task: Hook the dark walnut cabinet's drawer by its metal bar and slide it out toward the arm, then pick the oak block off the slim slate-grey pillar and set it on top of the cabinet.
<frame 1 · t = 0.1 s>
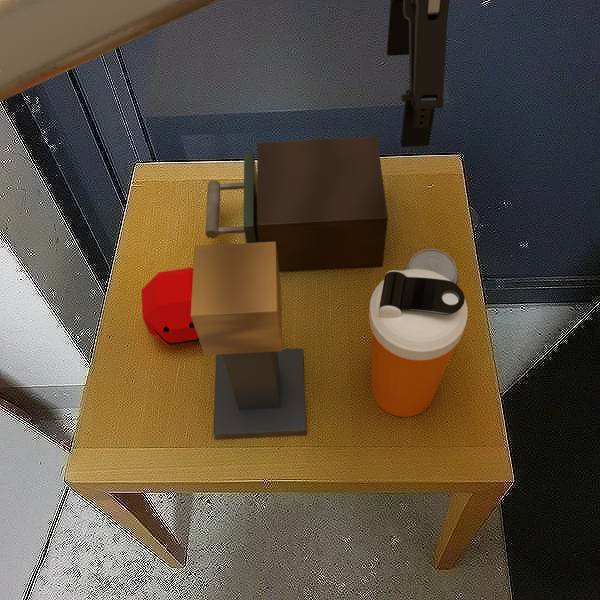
hand: (406, 96, 72), 21 cm above the table, tool pointing down, fingers open, 13 cm apart
ball: (186, 323, 83), on the table
beverage can: (420, 325, 82), on the table
oak block: (243, 319, 63), point 17 cm above the table, touching stand
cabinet: (321, 229, 90), on the table
shaker bottle: (402, 388, 78), on the table
stand: (260, 395, 78), on the table
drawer: (281, 207, 86), point 5 cm above the table, slide at 0.5 cm
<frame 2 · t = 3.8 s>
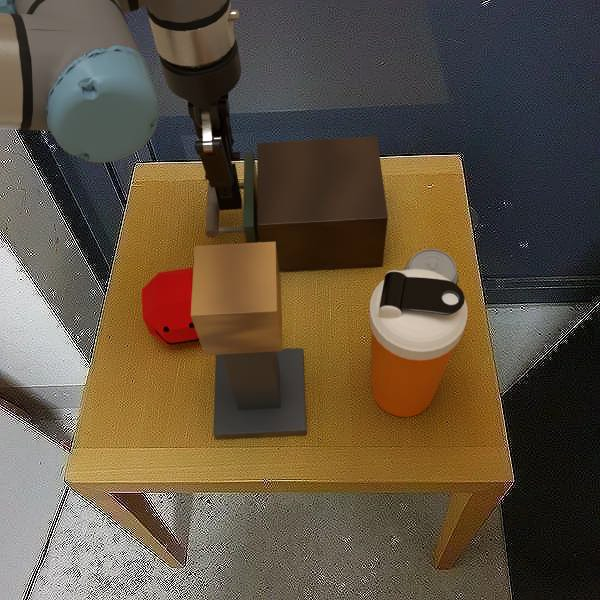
hand: (231, 205, 85), 6 cm above the table, tool pointing down, fingers closed
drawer: (281, 207, 86), point 5 cm above the table, slide at 0.5 cm, touching gripper
everything else where it was.
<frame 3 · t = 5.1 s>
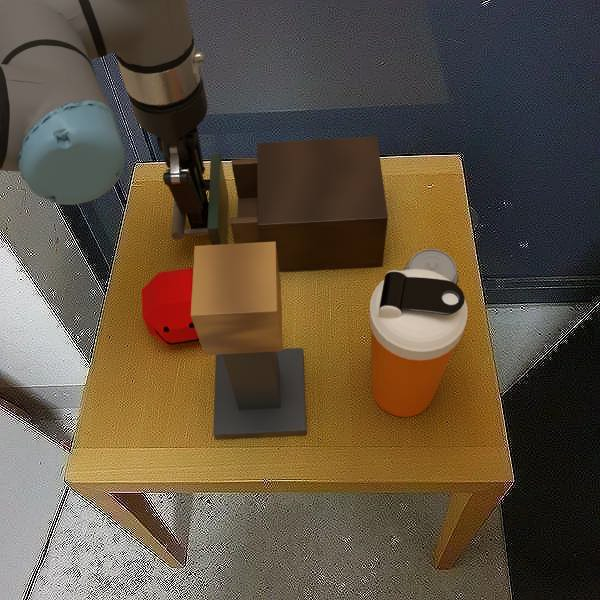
hand: (203, 228, 89), 2 cm above the table, tool pointing down, fingers closed
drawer: (248, 209, 86), point 5 cm above the table, slide at 4.7 cm, touching gripper
everything else where it was.
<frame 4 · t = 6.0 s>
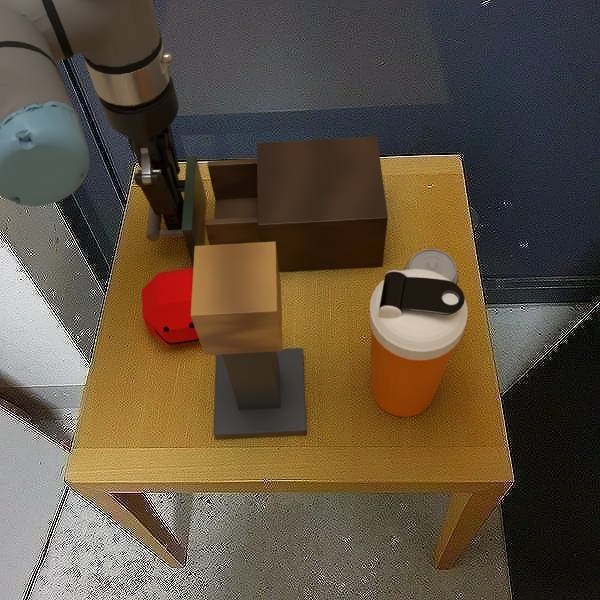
hand: (179, 229, 89), 2 cm above the table, tool pointing down, fingers closed
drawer: (224, 210, 86), point 5 cm above the table, slide at 7.7 cm, touching gripper
everything else where it was.
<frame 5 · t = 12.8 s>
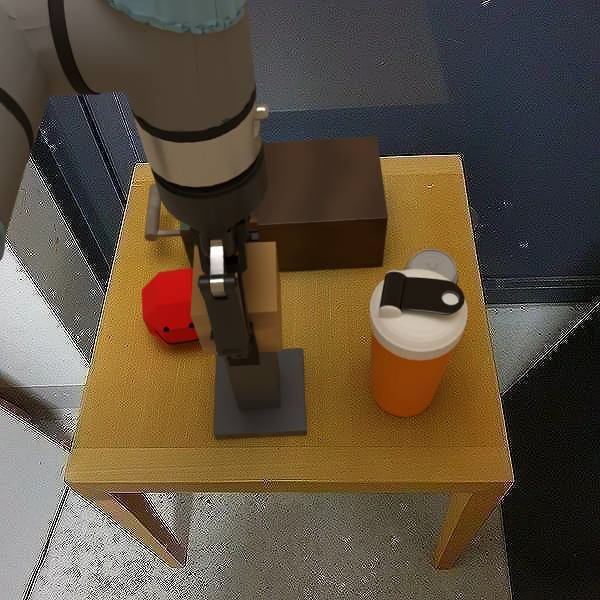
hand: (244, 324, 64), 16 cm above the table, tool pointing down, fingers closed on oak block, 7 cm apart
oak block: (243, 319, 63), point 17 cm above the table, touching gripper, stand
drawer: (222, 210, 86), point 5 cm above the table, slide at 7.9 cm
everything else where it was.
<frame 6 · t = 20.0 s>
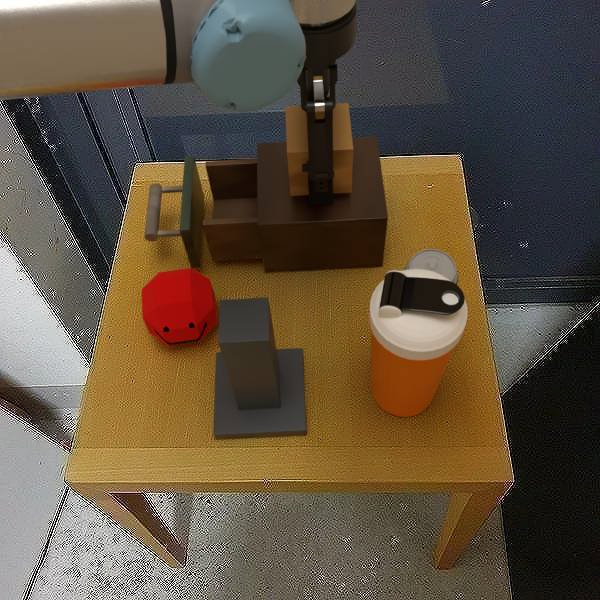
hand: (319, 177, 81), 10 cm above the table, tool pointing down, fingers closed on oak block, 7 cm apart
oak block: (319, 171, 80), point 11 cm above the table, touching gripper
everything else where it was.
when the fingers open (11 cm above the table, at t = 24.6 s): oak block drops 2 cm, resting on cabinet.
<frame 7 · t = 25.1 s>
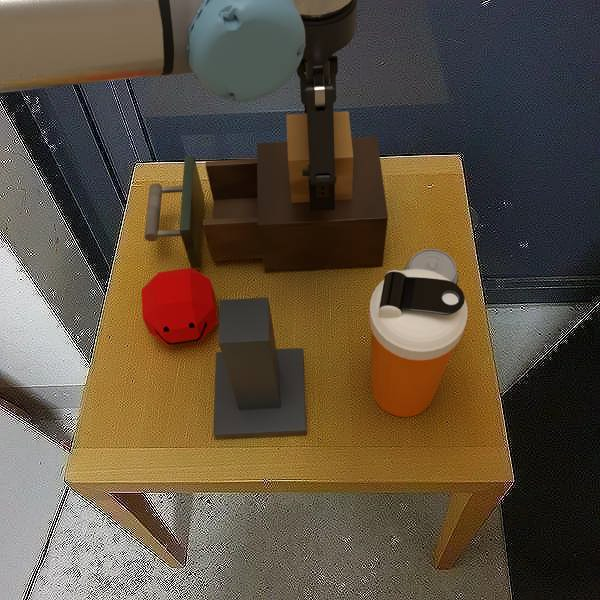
hand: (319, 162, 79), 13 cm above the table, tool pointing down, fingers open, 13 cm apart
oak block: (320, 178, 82), point 10 cm above the table, touching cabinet
everything else where it was.
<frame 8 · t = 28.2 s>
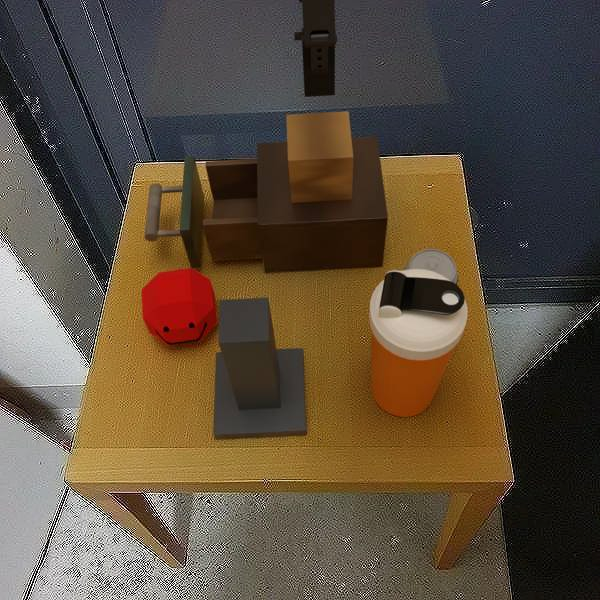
hand: (315, 44, 65), 29 cm above the table, tool pointing down, fingers open, 13 cm apart
nothing on the table moved.
at the end: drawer slide at 7.9 cm; oak block inside the target area on the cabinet (0.1 cm from its centre), point 9.8 cm above the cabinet's base; oak block tilted 0° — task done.
